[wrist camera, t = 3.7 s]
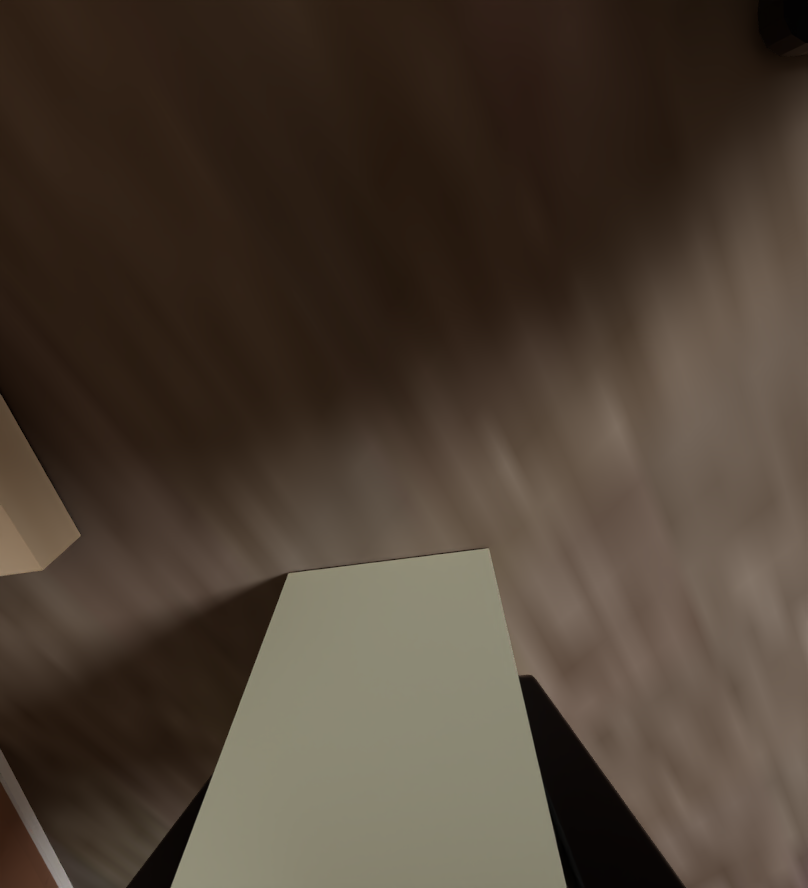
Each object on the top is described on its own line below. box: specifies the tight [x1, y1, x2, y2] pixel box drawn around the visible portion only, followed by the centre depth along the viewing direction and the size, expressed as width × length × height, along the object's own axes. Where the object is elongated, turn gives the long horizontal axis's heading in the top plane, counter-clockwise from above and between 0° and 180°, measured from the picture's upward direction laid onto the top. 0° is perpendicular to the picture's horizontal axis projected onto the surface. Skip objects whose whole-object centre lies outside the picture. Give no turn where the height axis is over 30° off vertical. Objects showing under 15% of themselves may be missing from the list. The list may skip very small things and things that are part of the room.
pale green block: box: [171, 548, 567, 888], centre depth 7 cm, size 4×4×6 cm
